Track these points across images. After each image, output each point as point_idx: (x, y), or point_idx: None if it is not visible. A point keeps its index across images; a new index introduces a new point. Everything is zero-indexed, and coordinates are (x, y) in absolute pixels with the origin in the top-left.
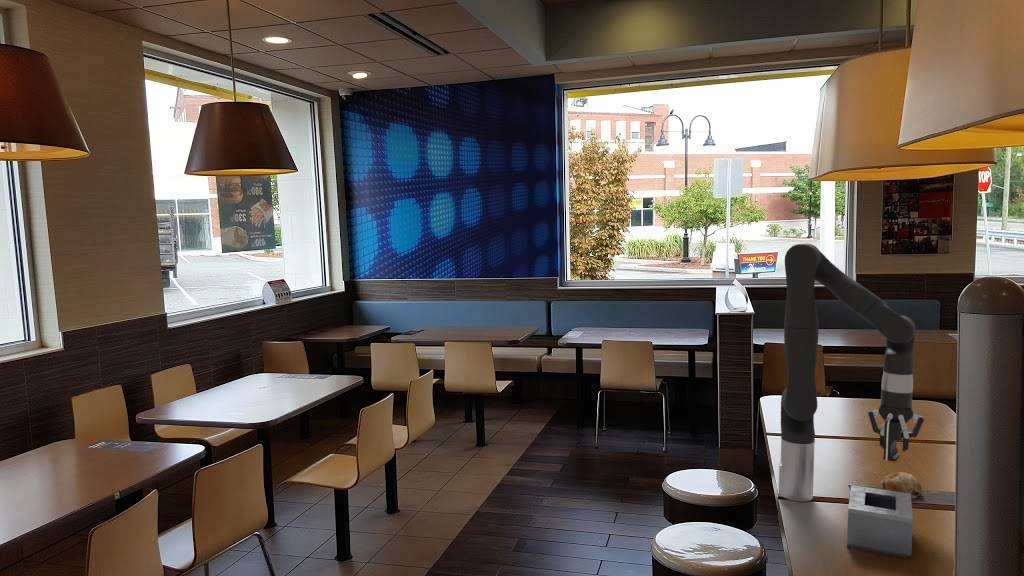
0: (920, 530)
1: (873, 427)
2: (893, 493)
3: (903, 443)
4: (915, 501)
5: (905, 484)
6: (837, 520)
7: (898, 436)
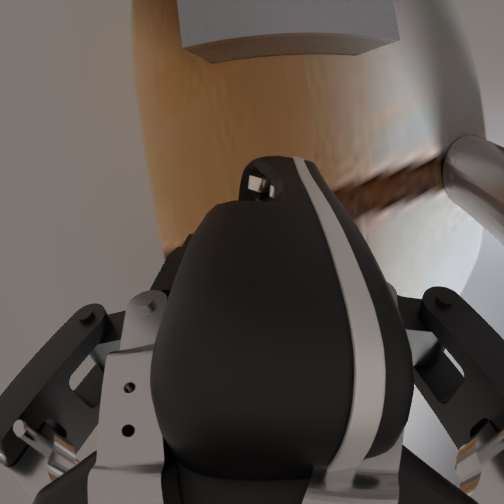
0: (187, 84)
1: (471, 318)
2: (242, 12)
3: None
4: None
5: None
6: None
7: (197, 233)
